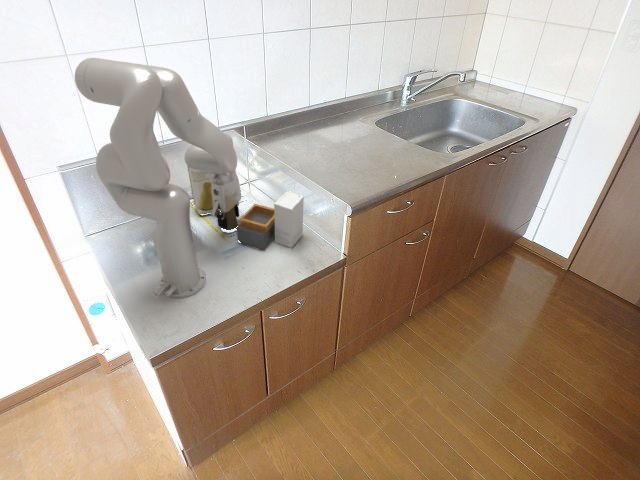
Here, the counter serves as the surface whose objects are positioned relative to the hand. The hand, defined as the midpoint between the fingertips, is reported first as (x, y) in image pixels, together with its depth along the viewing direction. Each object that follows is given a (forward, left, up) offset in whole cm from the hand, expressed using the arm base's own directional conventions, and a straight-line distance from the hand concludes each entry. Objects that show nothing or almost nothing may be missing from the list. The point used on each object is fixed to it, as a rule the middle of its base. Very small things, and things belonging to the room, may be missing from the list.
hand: (228, 221), depth 137 cm
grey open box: (+1, -12, -3) cm, 12 cm away
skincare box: (+3, -21, -3) cm, 21 cm away
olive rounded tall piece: (0, 0, -3) cm, 3 cm away
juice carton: (+6, +12, -3) cm, 14 cm away
